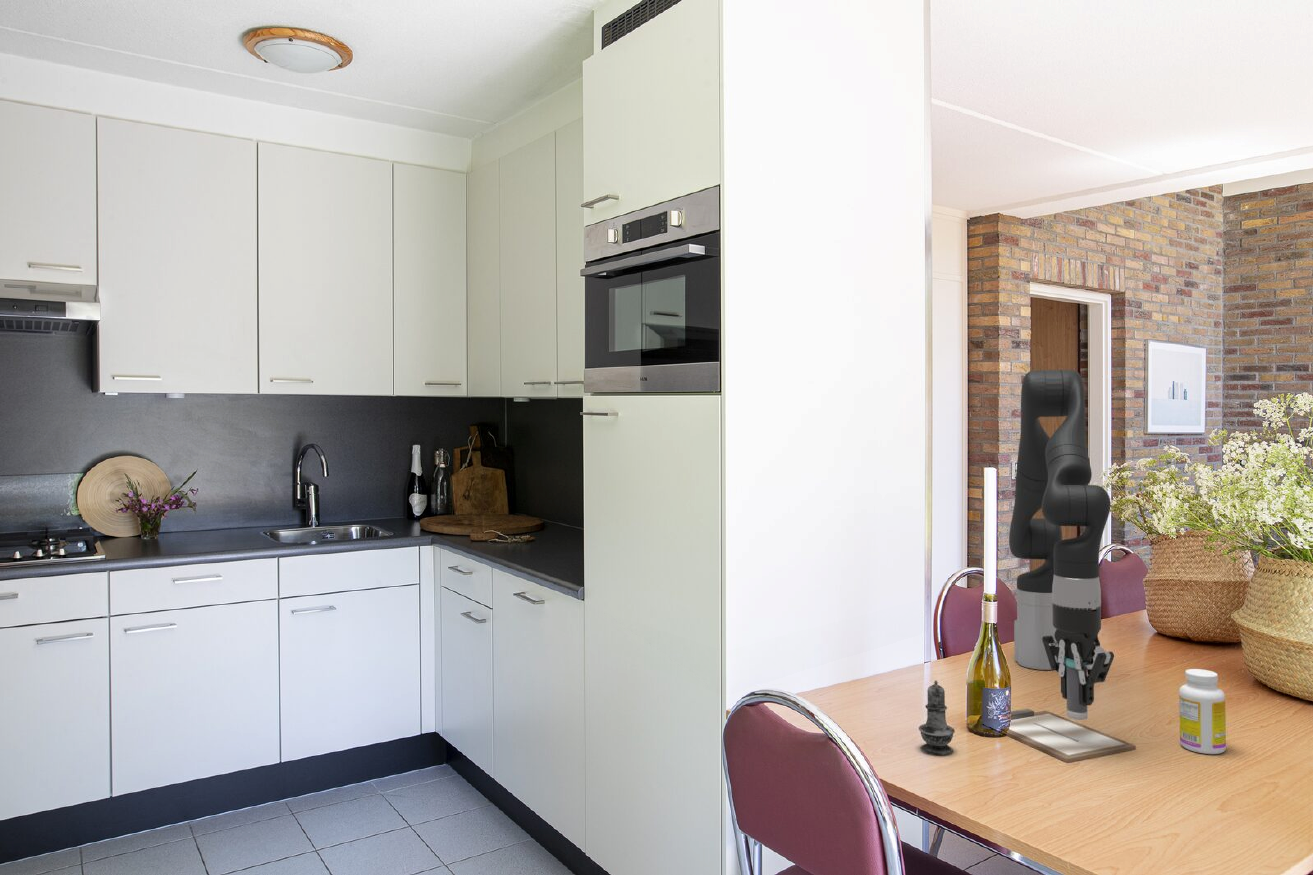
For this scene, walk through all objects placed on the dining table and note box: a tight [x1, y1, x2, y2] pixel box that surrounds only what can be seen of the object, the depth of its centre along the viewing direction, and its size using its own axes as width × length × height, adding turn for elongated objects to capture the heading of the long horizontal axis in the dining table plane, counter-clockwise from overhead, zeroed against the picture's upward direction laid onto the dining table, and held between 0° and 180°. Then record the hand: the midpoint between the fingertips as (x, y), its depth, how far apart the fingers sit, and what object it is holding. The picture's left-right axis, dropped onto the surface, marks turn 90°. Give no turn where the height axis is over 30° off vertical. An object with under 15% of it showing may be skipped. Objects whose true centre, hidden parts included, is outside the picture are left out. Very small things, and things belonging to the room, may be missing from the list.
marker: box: [1066, 658, 1089, 721], centre depth 152 cm, size 3×3×10 cm
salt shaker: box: [918, 679, 956, 757], centre depth 152 cm, size 6×6×12 cm
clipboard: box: [1006, 708, 1137, 764], centre depth 157 cm, size 20×15×2 cm
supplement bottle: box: [1178, 668, 1227, 755], centre depth 150 cm, size 7×7×13 cm
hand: (1077, 701), depth 152 cm, fingers closed on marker, 3 cm apart
